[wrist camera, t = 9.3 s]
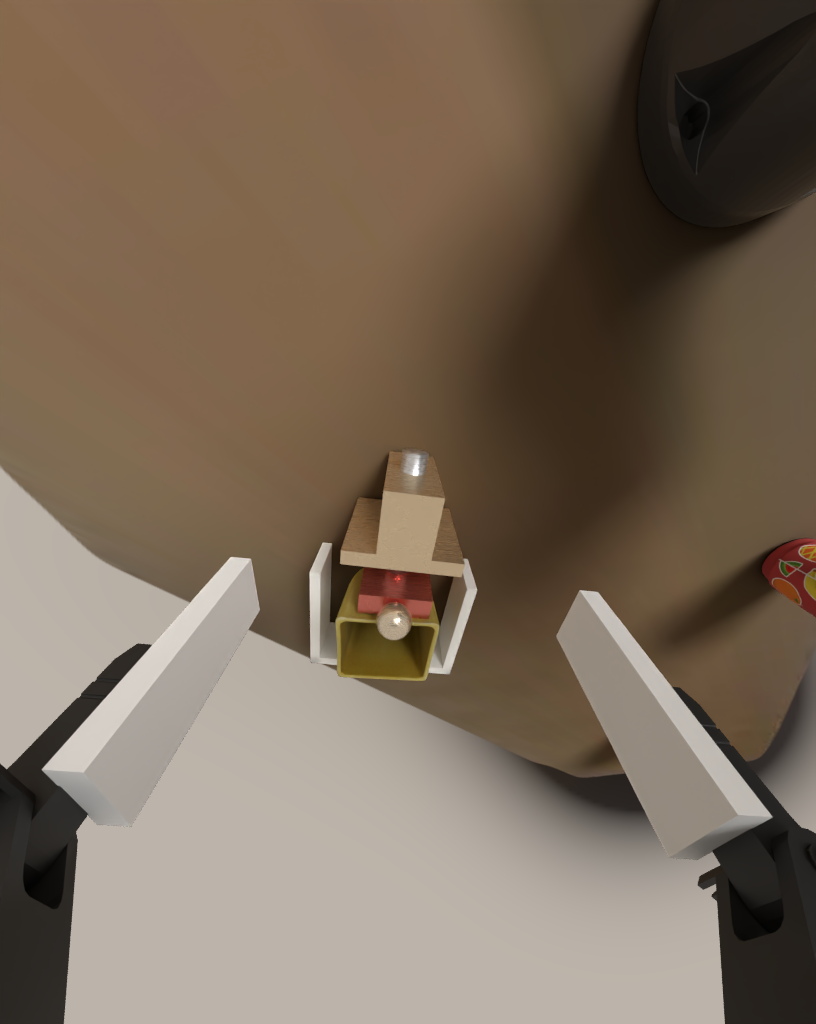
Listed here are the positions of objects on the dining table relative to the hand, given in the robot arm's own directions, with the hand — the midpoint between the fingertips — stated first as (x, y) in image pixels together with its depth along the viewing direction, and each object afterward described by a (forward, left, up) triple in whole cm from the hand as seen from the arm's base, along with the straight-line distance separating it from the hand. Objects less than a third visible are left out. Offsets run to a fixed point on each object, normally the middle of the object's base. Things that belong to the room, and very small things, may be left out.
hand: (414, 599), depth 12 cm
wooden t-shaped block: (0, +4, -17) cm, 18 cm away
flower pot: (0, +14, -18) cm, 23 cm away
